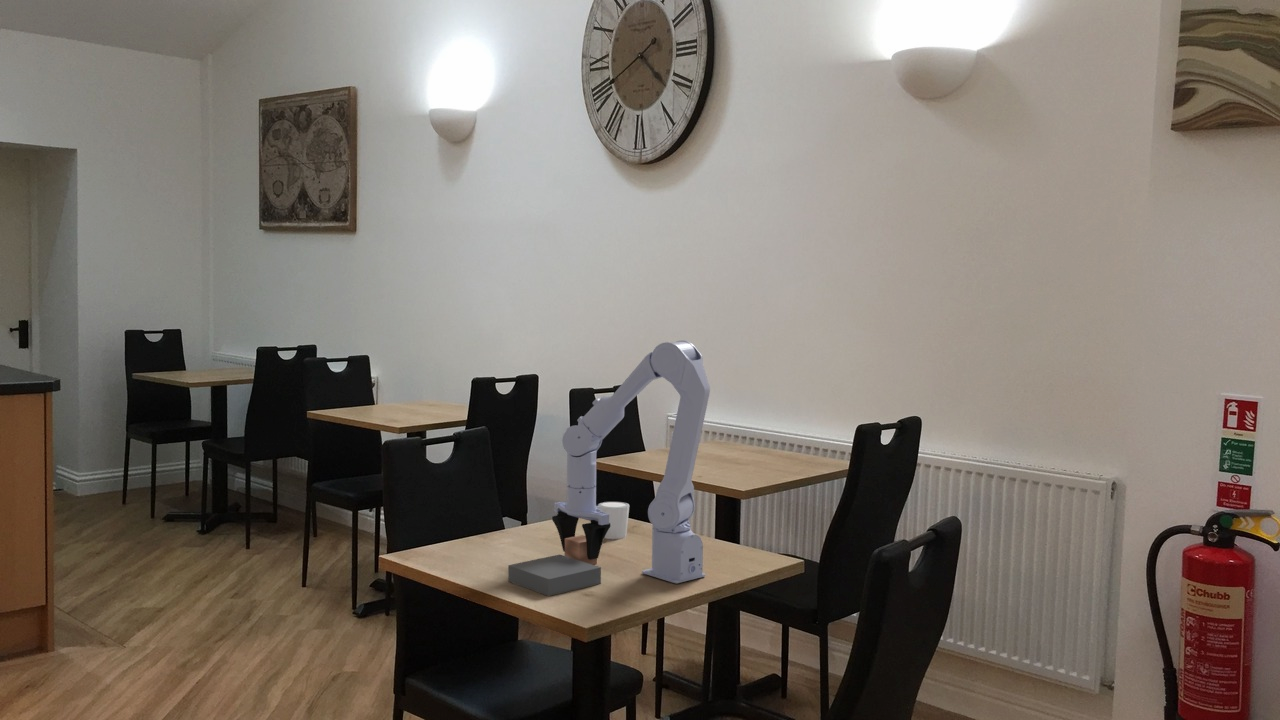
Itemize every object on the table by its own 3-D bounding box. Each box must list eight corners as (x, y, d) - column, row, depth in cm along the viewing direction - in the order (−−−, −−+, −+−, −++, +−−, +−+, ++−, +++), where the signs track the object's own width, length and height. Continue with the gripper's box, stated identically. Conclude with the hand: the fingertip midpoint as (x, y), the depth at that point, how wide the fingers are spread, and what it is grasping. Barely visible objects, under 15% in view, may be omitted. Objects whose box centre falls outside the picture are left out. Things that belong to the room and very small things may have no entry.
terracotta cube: (596, 564, 202) (597, 539, 202) (579, 568, 199) (579, 542, 199) (582, 559, 205) (582, 535, 205) (564, 563, 202) (564, 538, 202)
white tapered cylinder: (630, 532, 228) (631, 501, 228) (627, 540, 221) (627, 508, 221) (599, 531, 229) (600, 500, 228) (595, 539, 222) (595, 507, 222)
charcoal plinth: (600, 583, 189) (600, 567, 188) (548, 596, 180) (548, 579, 180) (559, 569, 197) (559, 554, 197) (508, 581, 189) (508, 565, 189)
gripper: (621, 489, 198) (620, 558, 199) (573, 478, 209) (572, 544, 210) (593, 493, 194) (592, 564, 195) (546, 482, 204) (545, 549, 205)
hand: (580, 554), depth 202 cm, fingers open, 7 cm apart
